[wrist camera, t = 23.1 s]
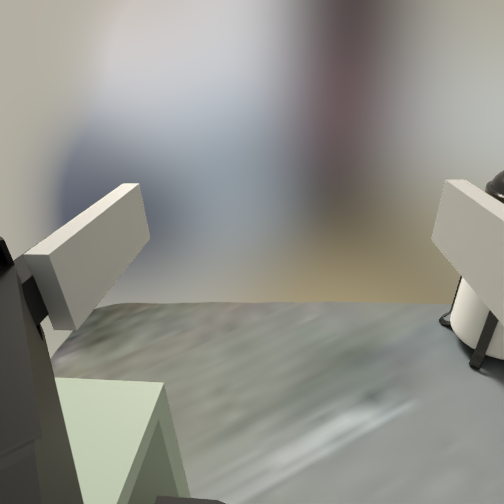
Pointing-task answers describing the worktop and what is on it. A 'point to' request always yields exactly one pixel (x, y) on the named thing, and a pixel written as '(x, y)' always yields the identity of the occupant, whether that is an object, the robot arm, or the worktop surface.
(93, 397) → the awning socket
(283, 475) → the worktop surface
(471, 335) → the coffee press
